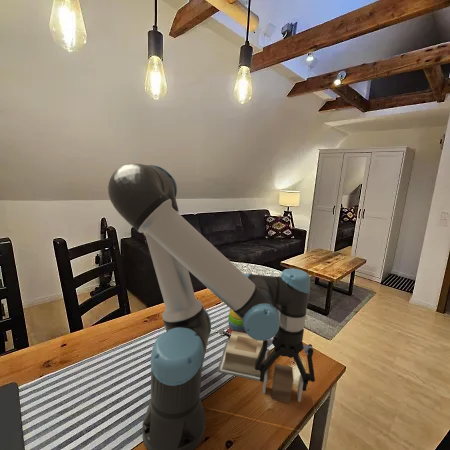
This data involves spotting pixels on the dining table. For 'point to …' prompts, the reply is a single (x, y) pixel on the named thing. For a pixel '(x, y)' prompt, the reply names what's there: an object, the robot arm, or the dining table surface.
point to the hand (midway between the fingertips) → (281, 394)
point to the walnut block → (282, 383)
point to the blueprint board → (236, 373)
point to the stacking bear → (235, 323)
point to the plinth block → (242, 353)
